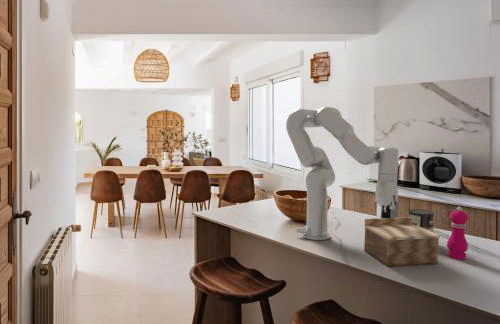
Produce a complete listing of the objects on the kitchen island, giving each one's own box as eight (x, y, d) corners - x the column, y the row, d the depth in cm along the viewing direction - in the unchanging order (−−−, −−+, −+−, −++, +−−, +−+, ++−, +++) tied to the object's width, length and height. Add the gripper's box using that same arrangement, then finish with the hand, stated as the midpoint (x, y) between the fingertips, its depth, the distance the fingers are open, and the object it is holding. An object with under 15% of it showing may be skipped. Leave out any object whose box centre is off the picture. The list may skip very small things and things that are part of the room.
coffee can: (434, 241, 168) (435, 210, 167) (431, 248, 159) (432, 215, 158) (409, 238, 173) (410, 208, 172) (405, 243, 165) (406, 212, 163)
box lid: (389, 240, 135) (389, 230, 135) (364, 227, 153) (364, 218, 153) (439, 238, 139) (440, 228, 138) (410, 225, 157) (410, 217, 156)
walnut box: (387, 267, 136) (389, 240, 135) (364, 251, 154) (365, 227, 153) (437, 264, 140) (438, 238, 139) (408, 248, 158) (409, 225, 157)
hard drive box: (397, 238, 172) (399, 195, 171) (379, 237, 174) (381, 195, 172) (391, 230, 187) (393, 190, 186) (375, 229, 189) (377, 189, 187)
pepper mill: (442, 254, 151) (445, 205, 150) (459, 253, 152) (462, 204, 150) (453, 260, 144) (456, 208, 142) (471, 259, 145) (474, 208, 143)
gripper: (370, 175, 162) (368, 217, 163) (389, 180, 147) (387, 226, 149) (386, 175, 163) (384, 216, 165) (406, 179, 148) (404, 225, 150)
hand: (385, 221), depth 157 cm, fingers closed
